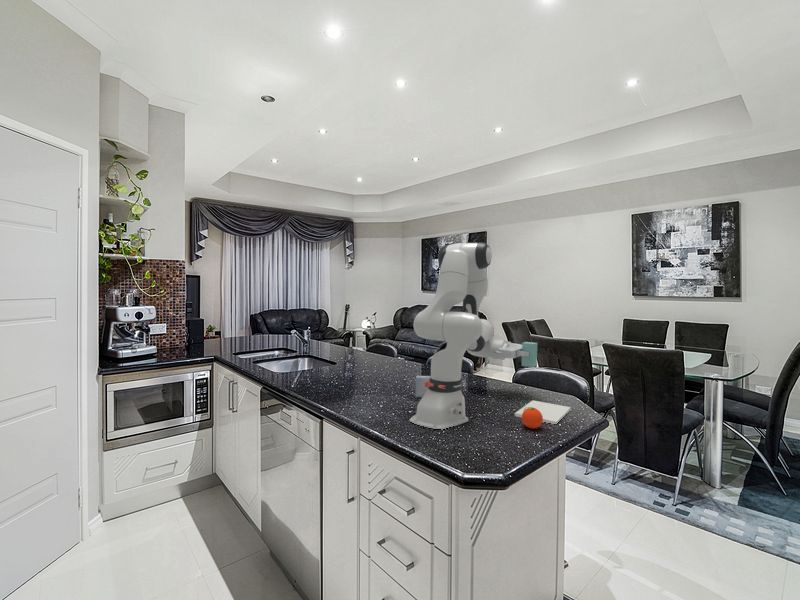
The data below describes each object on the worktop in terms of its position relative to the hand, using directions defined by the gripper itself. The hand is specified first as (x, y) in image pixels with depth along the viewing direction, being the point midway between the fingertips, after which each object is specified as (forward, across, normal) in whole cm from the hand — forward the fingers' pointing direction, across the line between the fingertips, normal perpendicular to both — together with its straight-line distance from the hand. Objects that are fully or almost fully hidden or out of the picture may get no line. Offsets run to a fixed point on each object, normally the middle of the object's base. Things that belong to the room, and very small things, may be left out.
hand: (531, 353), depth 171 cm
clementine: (+11, -35, +21) cm, 42 cm away
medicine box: (-38, -26, +21) cm, 50 cm away
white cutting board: (+10, -16, +20) cm, 28 cm away
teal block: (-1, 0, +6) cm, 6 cm away
